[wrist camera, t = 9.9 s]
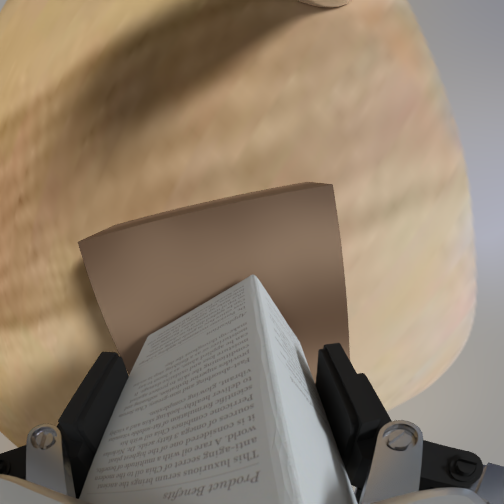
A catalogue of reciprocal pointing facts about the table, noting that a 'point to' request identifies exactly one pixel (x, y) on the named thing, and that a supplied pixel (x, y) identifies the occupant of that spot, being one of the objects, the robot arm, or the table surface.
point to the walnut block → (224, 265)
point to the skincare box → (220, 415)
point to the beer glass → (326, 2)
